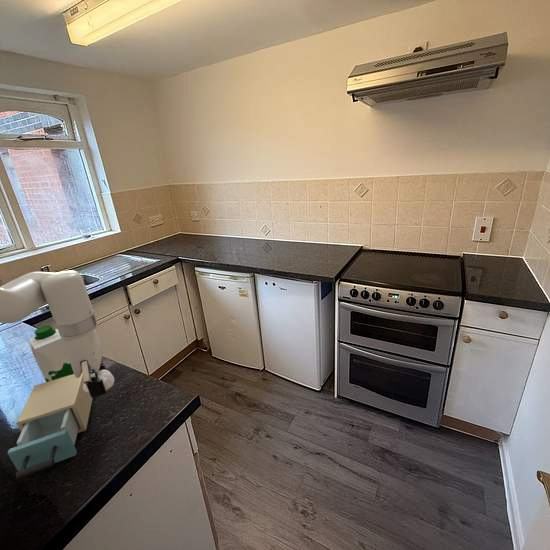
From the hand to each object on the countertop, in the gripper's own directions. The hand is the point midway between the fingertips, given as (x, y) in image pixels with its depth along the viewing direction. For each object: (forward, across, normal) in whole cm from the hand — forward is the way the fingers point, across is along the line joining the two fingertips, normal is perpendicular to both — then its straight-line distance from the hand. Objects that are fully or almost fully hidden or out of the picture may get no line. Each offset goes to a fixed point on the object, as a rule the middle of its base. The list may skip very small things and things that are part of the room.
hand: (100, 386), depth 75 cm
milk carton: (+10, -19, -13) cm, 25 cm away
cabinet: (+10, -5, -11) cm, 16 cm away
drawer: (+9, +6, -11) cm, 16 cm away
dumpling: (+1, 0, 0) cm, 1 cm away
